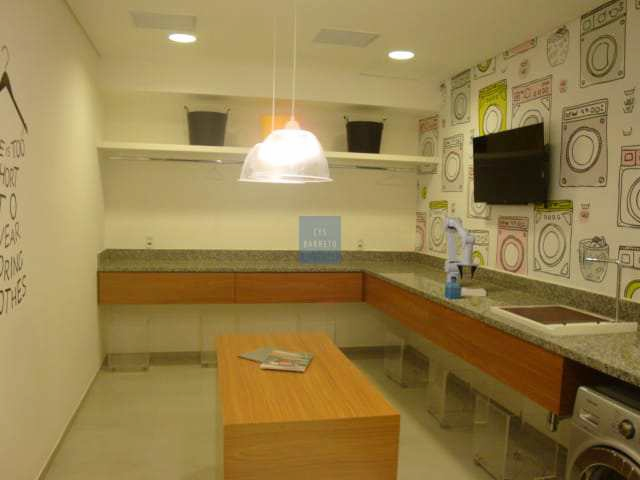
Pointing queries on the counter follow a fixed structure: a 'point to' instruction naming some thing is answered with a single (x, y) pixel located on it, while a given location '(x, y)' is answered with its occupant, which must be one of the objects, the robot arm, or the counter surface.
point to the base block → (474, 291)
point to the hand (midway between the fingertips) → (466, 278)
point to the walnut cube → (466, 277)
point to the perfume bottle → (453, 289)
